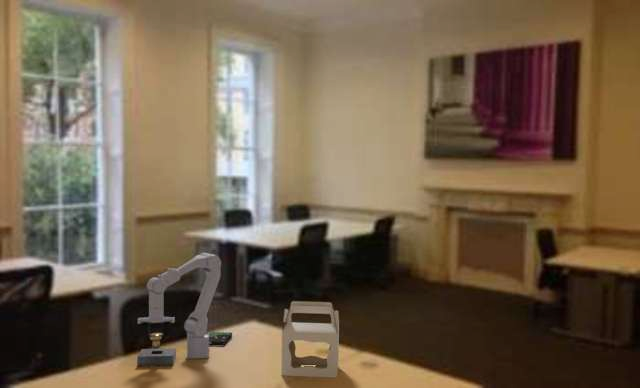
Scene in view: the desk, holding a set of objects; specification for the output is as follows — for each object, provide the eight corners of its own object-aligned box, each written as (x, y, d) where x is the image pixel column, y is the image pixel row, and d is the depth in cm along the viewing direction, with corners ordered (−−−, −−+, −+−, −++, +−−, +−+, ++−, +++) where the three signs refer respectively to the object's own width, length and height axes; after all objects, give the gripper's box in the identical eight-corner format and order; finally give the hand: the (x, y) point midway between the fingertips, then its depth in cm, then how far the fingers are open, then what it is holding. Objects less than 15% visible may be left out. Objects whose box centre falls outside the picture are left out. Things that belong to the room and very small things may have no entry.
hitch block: (175, 357, 250) (175, 348, 250) (172, 365, 240) (172, 355, 240) (141, 358, 249) (141, 349, 248) (137, 366, 239) (137, 356, 239)
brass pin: (164, 345, 245) (164, 332, 244) (162, 349, 239) (162, 336, 239) (150, 345, 244) (150, 333, 244) (148, 349, 238) (148, 336, 238)
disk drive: (224, 347, 268) (232, 337, 283) (224, 341, 268) (232, 332, 283) (201, 346, 269) (211, 336, 284) (202, 340, 269) (211, 331, 284)
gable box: (280, 375, 231) (281, 304, 230) (284, 364, 244) (285, 297, 243) (337, 378, 229) (338, 306, 228) (338, 366, 243) (340, 299, 241)
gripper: (136, 310, 236) (136, 343, 236) (173, 309, 238) (173, 342, 238) (139, 305, 243) (139, 338, 243) (175, 305, 245) (175, 337, 245)
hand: (156, 340), depth 241 cm, fingers closed on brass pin, 6 cm apart
